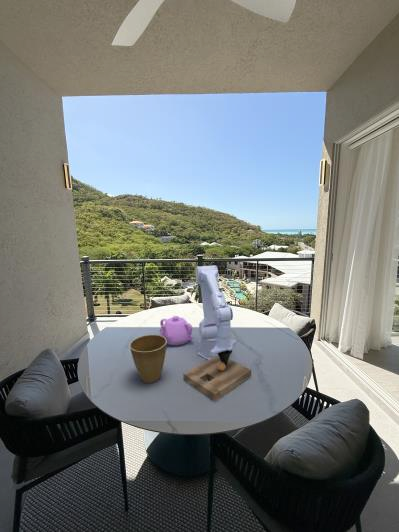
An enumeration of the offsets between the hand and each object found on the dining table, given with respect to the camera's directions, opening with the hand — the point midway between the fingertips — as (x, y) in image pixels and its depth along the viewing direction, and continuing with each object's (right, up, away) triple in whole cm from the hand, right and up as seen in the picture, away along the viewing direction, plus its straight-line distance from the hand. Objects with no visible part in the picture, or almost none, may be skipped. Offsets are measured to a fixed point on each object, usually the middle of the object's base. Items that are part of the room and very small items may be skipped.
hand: (224, 365), depth 108 cm
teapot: (-24, 0, +32) cm, 40 cm away
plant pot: (-31, -5, 0) cm, 32 cm away
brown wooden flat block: (-3, -5, -1) cm, 6 cm away
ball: (-1, 0, -1) cm, 1 cm away
